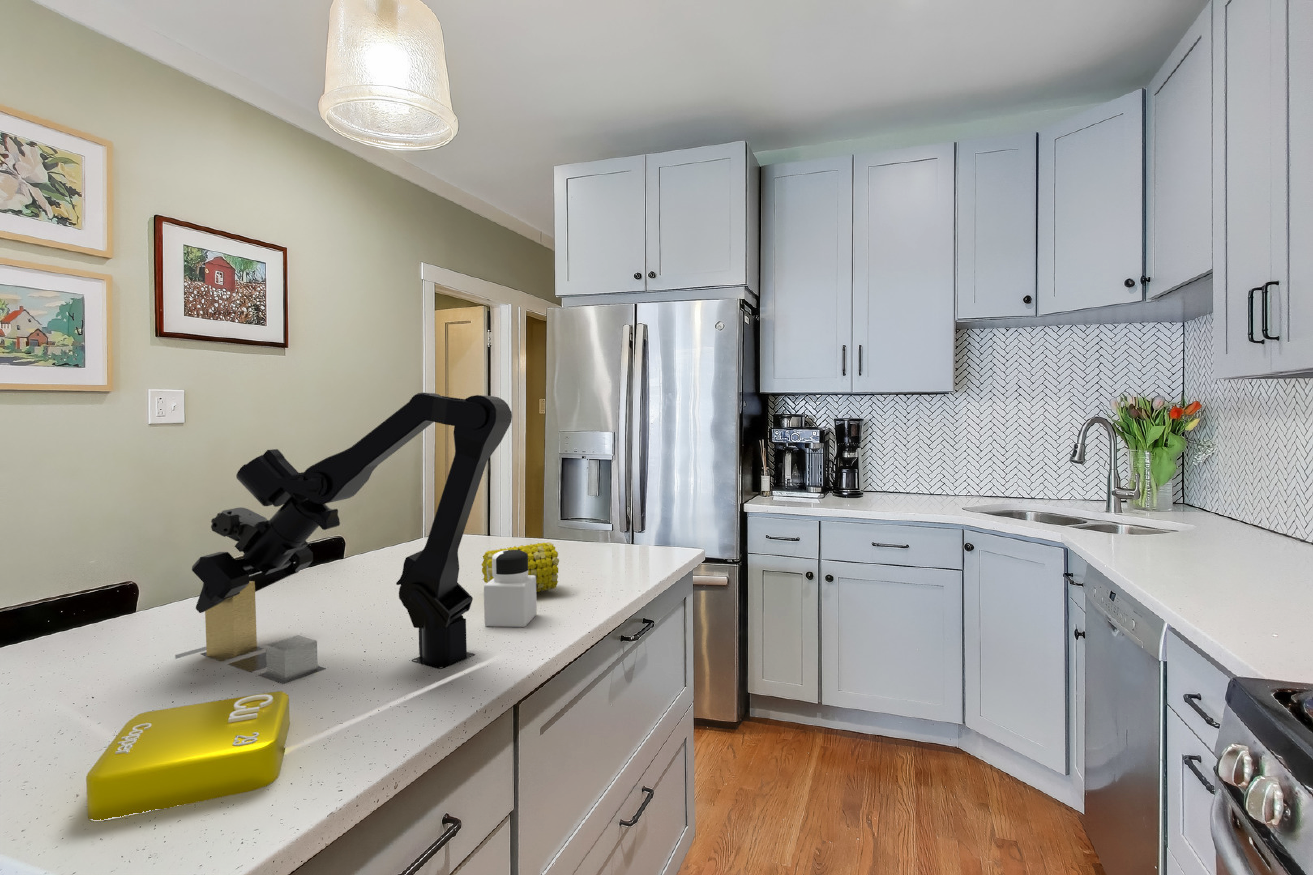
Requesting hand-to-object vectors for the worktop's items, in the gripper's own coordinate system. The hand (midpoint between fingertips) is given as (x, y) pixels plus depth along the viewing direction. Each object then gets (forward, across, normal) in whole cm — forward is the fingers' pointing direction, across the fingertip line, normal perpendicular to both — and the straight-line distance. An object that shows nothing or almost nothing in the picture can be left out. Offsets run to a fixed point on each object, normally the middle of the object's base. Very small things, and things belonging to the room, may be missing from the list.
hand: (223, 601), depth 99 cm
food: (-18, -35, +30) cm, 50 cm away
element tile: (-9, +29, +22) cm, 38 cm away
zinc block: (-6, +7, +16) cm, 19 cm away
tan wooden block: (+4, 0, +6) cm, 8 cm away
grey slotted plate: (0, +3, +11) cm, 11 cm away
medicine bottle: (-21, -19, +33) cm, 43 cm away
